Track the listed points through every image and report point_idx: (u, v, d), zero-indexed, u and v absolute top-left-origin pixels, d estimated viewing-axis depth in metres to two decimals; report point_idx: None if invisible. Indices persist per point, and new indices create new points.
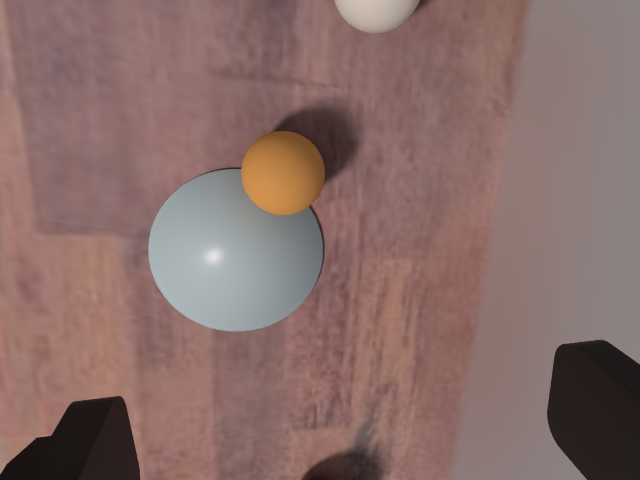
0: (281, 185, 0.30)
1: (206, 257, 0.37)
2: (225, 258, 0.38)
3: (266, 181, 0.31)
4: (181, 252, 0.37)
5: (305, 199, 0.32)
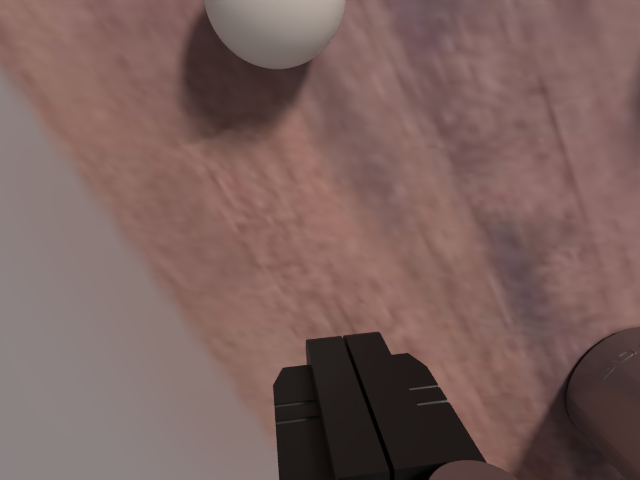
0: None
1: None
2: None
3: None
4: None
5: None
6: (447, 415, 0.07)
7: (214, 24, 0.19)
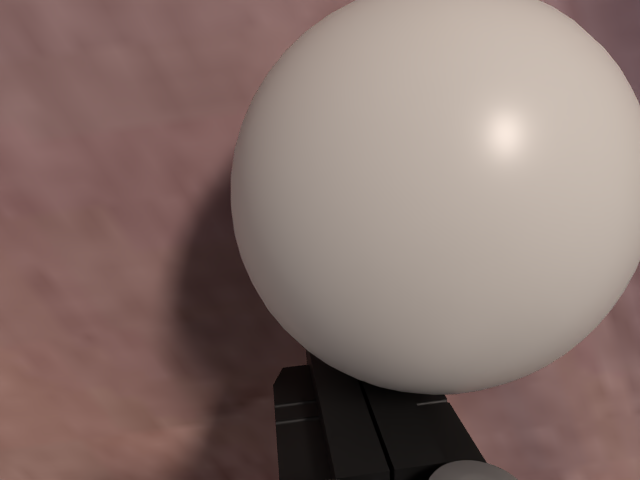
0: None
1: None
2: None
3: None
4: None
5: None
6: (447, 415, 0.07)
7: (261, 298, 0.07)
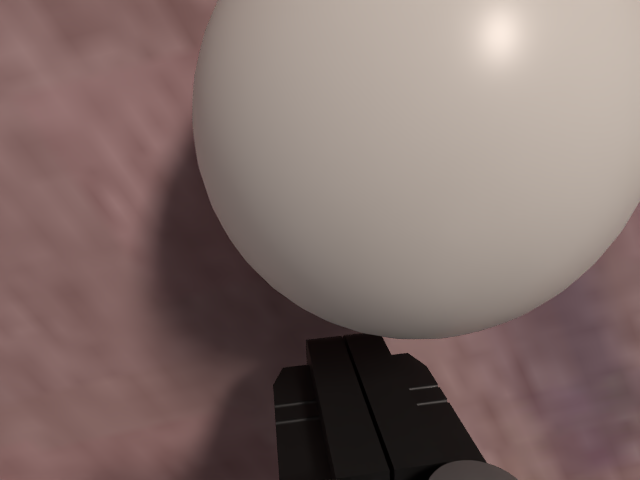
0: None
1: None
2: None
3: None
4: None
5: None
6: (446, 415, 0.07)
7: None
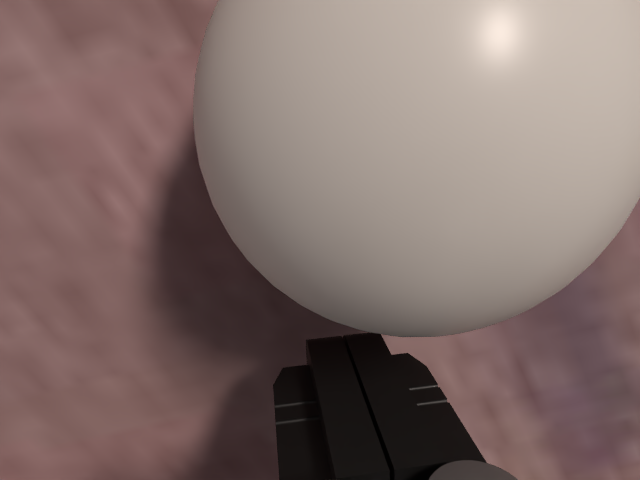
0: None
1: None
2: None
3: None
4: None
5: None
6: (447, 415, 0.07)
7: None
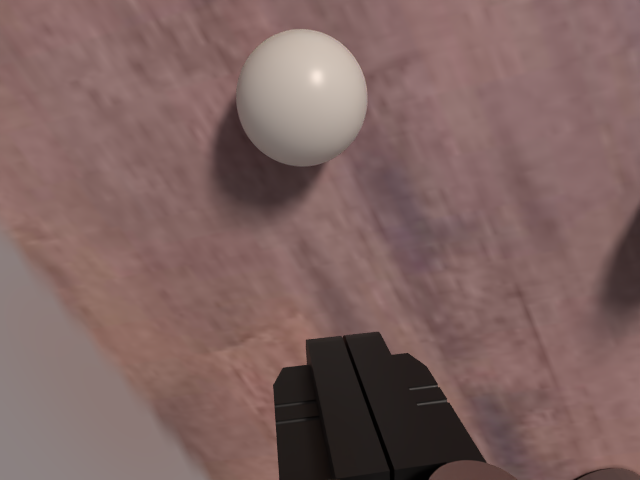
0: None
1: None
2: None
3: None
4: None
5: None
6: (447, 415, 0.07)
7: (245, 63, 0.20)
